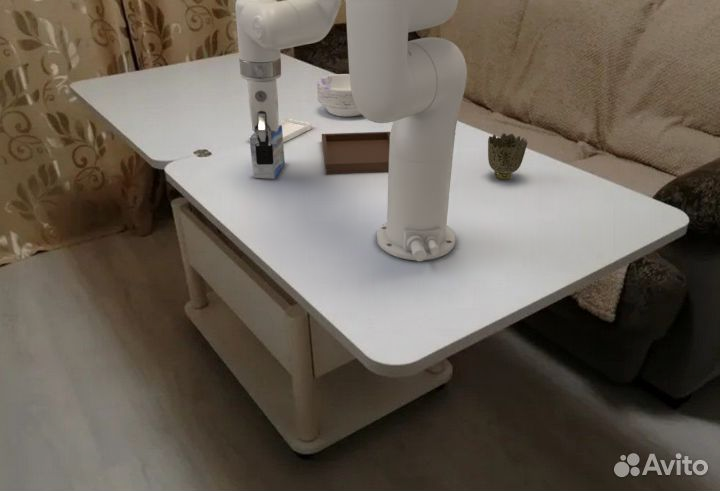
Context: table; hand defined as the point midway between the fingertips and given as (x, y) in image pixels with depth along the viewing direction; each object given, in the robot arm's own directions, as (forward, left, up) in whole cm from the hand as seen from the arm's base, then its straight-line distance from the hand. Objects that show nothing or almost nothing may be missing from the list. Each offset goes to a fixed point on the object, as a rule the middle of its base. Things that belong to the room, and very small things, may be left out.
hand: (265, 154), depth 119 cm
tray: (+6, -20, -4) cm, 21 cm away
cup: (-8, -47, -4) cm, 48 cm away
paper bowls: (+37, -20, -4) cm, 42 cm away
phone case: (+21, -3, -4) cm, 22 cm away
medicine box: (0, 0, -4) cm, 4 cm away
